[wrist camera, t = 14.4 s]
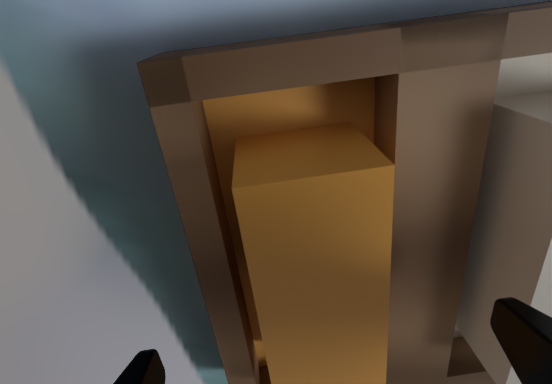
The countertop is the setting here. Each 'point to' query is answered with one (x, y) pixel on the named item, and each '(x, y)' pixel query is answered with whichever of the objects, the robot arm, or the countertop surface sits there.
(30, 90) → the countertop surface
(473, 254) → the off-white square pillar
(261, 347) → the slot board
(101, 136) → the countertop surface
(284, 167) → the tall amber prism
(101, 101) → the countertop surface
